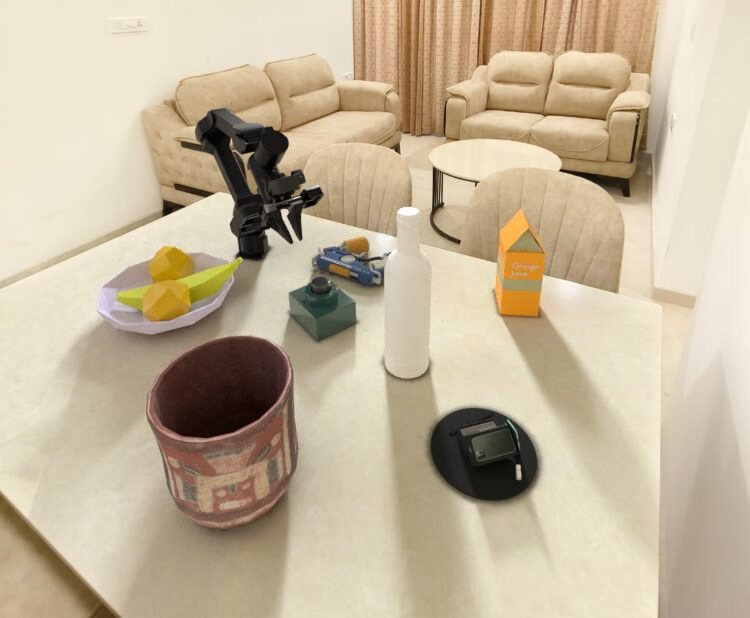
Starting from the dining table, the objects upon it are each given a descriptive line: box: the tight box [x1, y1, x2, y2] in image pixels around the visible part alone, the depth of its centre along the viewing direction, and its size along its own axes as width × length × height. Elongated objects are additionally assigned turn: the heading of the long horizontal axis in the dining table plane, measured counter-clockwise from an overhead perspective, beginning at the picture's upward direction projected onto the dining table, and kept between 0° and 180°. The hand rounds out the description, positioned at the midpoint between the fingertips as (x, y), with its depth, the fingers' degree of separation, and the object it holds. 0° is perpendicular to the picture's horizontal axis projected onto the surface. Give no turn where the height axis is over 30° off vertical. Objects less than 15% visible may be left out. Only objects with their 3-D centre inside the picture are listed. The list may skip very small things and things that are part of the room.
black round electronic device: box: [430, 407, 538, 502], centre depth 71 cm, size 15×15×6 cm
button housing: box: [288, 280, 357, 342], centre depth 100 cm, size 11×9×7 cm
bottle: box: [383, 206, 433, 379], centre depth 84 cm, size 8×8×30 cm
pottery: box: [145, 334, 299, 530], centre depth 65 cm, size 18×18×18 cm
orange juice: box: [494, 208, 547, 317], centre depth 102 cm, size 8×9×20 cm
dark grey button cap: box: [310, 275, 331, 295], centre depth 99 cm, size 4×4×2 cm
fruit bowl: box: [95, 245, 244, 336], centre depth 103 cm, size 28×27×11 cm
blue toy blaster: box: [311, 236, 393, 286], centre depth 119 cm, size 21×4×15 cm
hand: (296, 241), depth 103 cm, fingers closed
